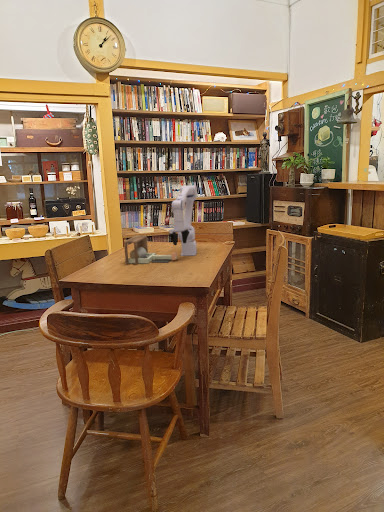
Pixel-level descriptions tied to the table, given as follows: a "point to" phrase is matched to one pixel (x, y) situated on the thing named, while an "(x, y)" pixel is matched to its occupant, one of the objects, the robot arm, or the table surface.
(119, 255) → the table surface
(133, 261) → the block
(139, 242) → the arch
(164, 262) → the pit
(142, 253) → the ceramic mug
